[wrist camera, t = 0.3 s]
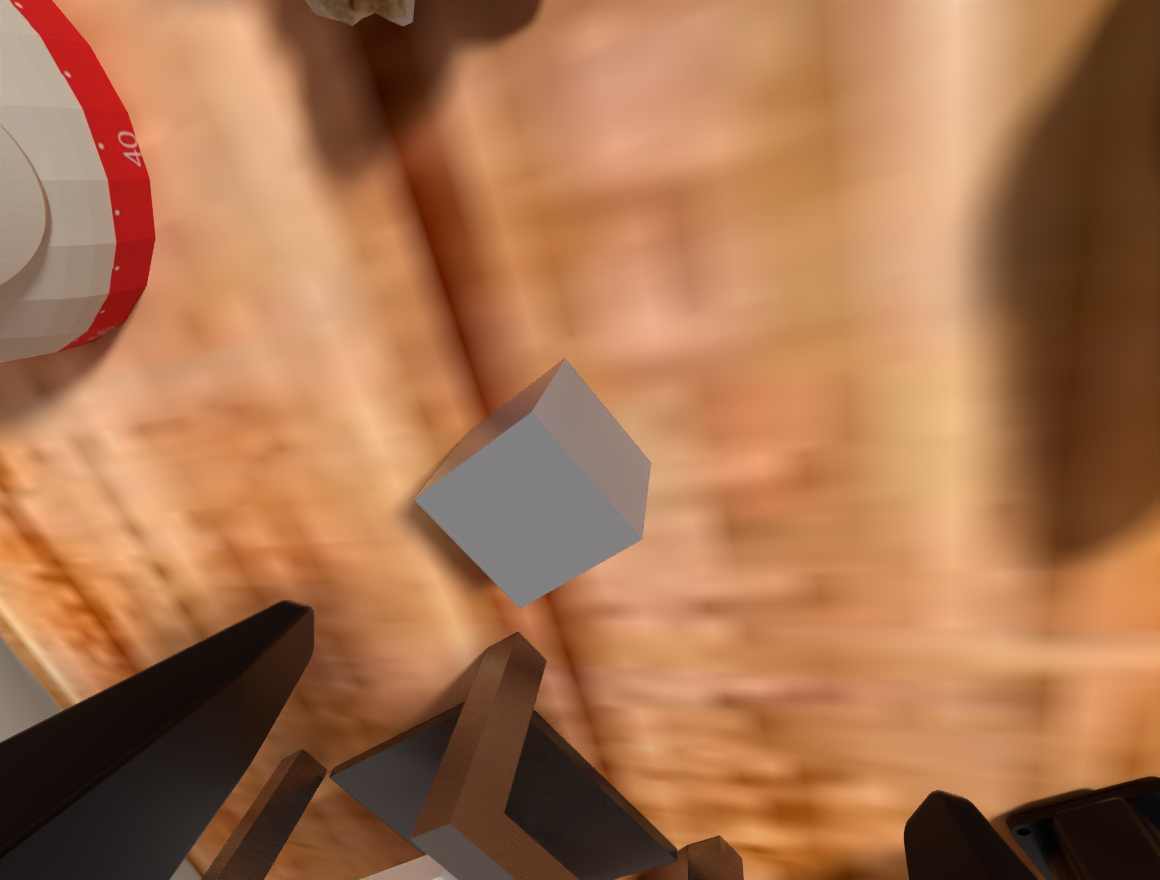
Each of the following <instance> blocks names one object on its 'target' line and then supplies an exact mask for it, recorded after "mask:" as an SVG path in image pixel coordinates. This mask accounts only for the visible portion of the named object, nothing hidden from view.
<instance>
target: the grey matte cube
mask: <svg viewBox="0 0 1160 880" xmlns="http://www.w3.org/2000/svg"><path fill="white" fill-rule="evenodd" d="M650 467H651V462H650V461H649V459H648V458H647V457H646V456H645V455H644V453H643V452H642V451H641V450H640V448H639V447H638V446H637V445H636V444H635V442H634V441H633V440H632V439H631V437H630V436H629V435H628V434H627V433H626V431H625V430H624V429H623V428H622V426H621V425H620V424H619V423H618V422H617V420H616V419H615V418H614V417H613V415H612V414H611V413H610V412H609V411H608V409H607V408H606V407H605V406H604V404H603V403H602V402H601V401H600V400H599V398H598V397H597V396H596V395H595V393H594V392H593V391H592V390H591V389H590V387H589V386H588V385H587V384H586V383H585V381H584V380H583V379H582V378H581V376H580V375H579V374H578V373H577V372H576V370H575V369H574V368H573V367H572V365H571V364H570V363H569V362H568V361H567V359H566V358H565V359H563V360H562V361H561V362H559V363H558V364H557V365H555V366H554V367H553V368H551V369H550V370H549V371H548V372H546V373H545V374H544V375H542V376H541V377H540V378H538V379H537V380H536V381H535V382H533V383H532V384H531V385H529V386H528V387H527V388H525V389H524V390H523V391H522V392H520V393H519V394H518V395H516V396H515V397H514V398H512V399H511V400H510V401H508V402H507V403H506V404H505V405H503V406H502V407H501V408H499V409H498V410H497V411H495V412H494V413H493V414H492V415H490V416H489V417H488V418H486V419H485V420H484V421H482V422H481V423H480V424H478V425H477V426H476V427H475V428H473V429H472V430H471V431H469V432H468V433H467V434H466V435H465V437H464V438H463V439H462V440H461V441H460V443H459V444H458V445H457V446H456V448H455V449H454V450H453V451H452V453H451V454H450V455H449V456H448V458H447V459H446V460H445V461H444V462H443V464H442V465H441V466H440V467H439V469H438V470H437V471H436V472H435V474H434V475H433V476H432V477H431V478H430V480H429V481H428V482H427V483H426V485H425V486H424V487H423V488H422V490H421V491H420V492H419V493H418V495H417V496H416V497H415V498H414V500H415V502H416V503H417V504H418V505H419V506H420V507H421V508H422V509H423V510H424V511H425V512H426V513H427V514H428V515H429V516H430V517H431V518H432V519H433V520H434V521H435V522H436V523H437V524H438V525H439V526H440V527H441V528H442V529H443V530H444V531H445V532H446V533H447V534H448V535H449V536H450V537H451V538H452V539H453V541H454V542H455V543H456V544H457V545H458V546H459V547H460V548H461V549H462V550H463V551H464V552H465V553H466V554H467V555H468V556H469V557H470V558H471V559H472V560H473V561H474V562H475V563H476V564H477V565H478V566H479V567H480V568H481V569H482V570H483V571H484V572H485V573H486V574H487V575H488V576H489V577H490V578H491V579H492V581H493V582H494V583H495V584H496V585H497V586H498V587H499V588H500V589H501V590H502V591H503V592H504V593H505V594H506V595H507V596H508V597H509V598H510V599H511V600H512V601H513V602H514V603H515V604H516V605H517V606H518V607H519V608H522V607H524V606H525V605H527V604H529V603H531V602H532V601H534V600H536V599H538V598H539V597H541V596H543V595H545V594H546V593H548V592H550V591H552V590H554V589H555V588H557V587H559V586H561V585H562V584H564V583H566V582H568V581H569V580H571V579H573V578H575V577H577V576H578V575H580V574H582V573H584V572H585V571H587V570H589V569H591V568H592V567H594V566H596V565H598V564H600V563H601V562H603V561H605V560H607V559H608V558H610V557H612V556H614V555H615V554H617V553H619V552H621V551H622V550H624V549H626V548H628V547H630V546H631V545H633V544H635V543H637V542H638V541H640V540H642V537H643V528H644V520H645V511H646V502H647V493H648V484H649V475H650Z"/></svg>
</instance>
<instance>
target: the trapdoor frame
mask: <svg viewBox="0 0 1160 880" xmlns="http://www.w3.org/2000/svg"><path fill="white" fill-rule="evenodd" d="M546 661H547V660H546V659H545V658H544V657H543V656H542V655H541V654H540V653H539V652H538V651H537V650H536V649H535V648H534V647H533V646H532V645H531V644H530V643H529V642H528V641H527V640H526V639H525V638H524V637H523V636H522V635H521V634H520V633H519V632H517V633H515V634H513V635H511V636H510V637H508V638H506V639H504V640H502V641H500V642H499V643H497V644H495V645H493V646H491V647H489V648H488V649H487V650H486V653H485V655H484V658H483V660H482V663H481V665H480V667H479V670H478V672H477V675H476V677H475V680H474V682H473V685H472V687H471V689H470V692H469V694H468V697H467V699H466V702H464V703H462V704H460V705H458V706H456V707H454V708H452V709H450V710H448V711H446V712H444V713H442V714H440V715H438V716H436V717H434V718H432V719H430V720H428V721H426V722H424V723H422V724H420V725H418V726H416V727H414V728H412V729H410V730H408V731H406V732H404V733H402V734H400V735H398V736H396V737H394V738H392V739H390V740H388V741H386V742H384V743H382V744H380V745H378V746H376V747H374V748H373V749H371V750H369V751H367V752H365V753H363V754H361V755H359V756H357V757H355V758H353V759H351V760H349V761H347V762H345V763H343V764H341V765H339V766H337V767H335V768H334V770H333V772H332V773H331V775H330V777H329V778H330V779H332V780H333V781H334V782H335V783H337V784H338V785H339V786H340V787H341V788H343V789H344V790H345V791H346V792H348V793H349V794H350V795H351V796H352V797H354V798H355V799H356V800H357V801H358V802H360V803H361V804H362V805H363V806H365V807H366V808H367V809H368V810H369V811H371V812H372V813H373V814H374V815H376V816H377V817H378V818H379V819H380V820H382V821H383V822H384V823H385V824H387V825H388V826H389V827H390V828H391V829H393V830H394V831H395V832H396V833H397V834H399V835H400V836H401V837H402V838H404V839H405V840H406V841H407V842H408V843H410V844H411V845H412V846H413V847H415V848H416V849H417V850H418V851H419V852H421V853H422V854H423V855H424V856H425V855H427V854H428V855H429V856H430V857H431V858H433V859H434V860H435V861H436V862H437V863H439V864H440V865H441V866H442V867H443V868H445V869H446V870H447V871H448V872H450V873H451V874H452V875H453V876H454V877H456V878H457V879H458V880H613V879H617V878H620V877H624V876H627V875H631V874H634V873H637V872H641V871H644V870H648V869H651V868H655V867H658V866H662V865H665V864H669V863H672V862H676V861H677V848H676V847H675V846H674V845H673V844H671V843H670V842H669V841H668V840H667V839H666V838H665V837H664V836H663V835H662V834H661V833H660V832H659V831H658V830H657V829H656V828H655V827H654V826H653V825H652V824H651V823H650V822H649V821H648V820H647V819H646V818H645V817H644V816H643V815H642V814H641V813H640V812H639V811H638V810H636V809H635V808H634V807H633V806H632V805H631V804H630V803H629V802H628V801H627V800H626V799H625V798H624V797H623V796H622V795H621V794H620V793H619V792H618V791H617V790H616V789H615V788H614V787H613V786H612V785H611V784H610V783H609V782H608V781H607V780H606V779H605V778H604V777H602V776H601V775H600V774H599V773H598V772H597V771H596V770H595V769H594V768H593V767H592V766H591V765H590V764H589V763H588V762H587V761H586V760H585V759H584V758H583V757H582V756H581V755H580V754H579V753H578V752H577V751H576V750H575V749H574V748H573V747H572V746H571V745H570V744H569V743H567V742H566V741H565V740H564V739H563V738H562V737H561V736H560V735H559V734H558V733H557V732H556V731H555V730H554V729H553V728H552V727H551V726H550V725H549V724H548V723H547V722H546V721H545V720H544V719H543V718H542V717H541V716H540V715H539V714H538V713H537V712H536V711H535V710H534V709H533V708H534V704H535V700H536V697H537V693H538V690H539V686H540V682H541V679H542V675H543V672H544V668H545V665H546ZM326 773H327V770H326V769H324V768H323V767H322V766H321V765H320V764H318V763H317V762H316V761H315V760H314V759H312V758H311V757H310V756H309V755H307V754H306V753H305V752H304V751H303V750H300V751H299V752H297V753H295V754H293V755H291V756H289V757H288V758H286V759H284V760H282V761H281V763H280V764H279V766H278V767H277V769H276V770H275V772H274V773H273V774H272V776H271V777H270V779H269V780H268V782H267V783H266V785H265V786H264V788H263V789H262V791H261V792H260V794H259V795H258V797H257V798H256V800H255V801H254V803H253V804H252V806H251V807H250V808H249V810H248V811H247V813H246V814H245V816H244V817H243V819H242V820H241V822H240V823H239V825H238V826H237V828H236V829H235V831H234V832H233V834H232V835H231V837H230V838H229V840H228V841H227V842H226V844H225V845H224V847H223V848H222V850H221V851H220V853H219V854H218V856H217V857H216V859H215V860H214V862H213V863H212V865H211V866H210V868H209V869H208V871H207V872H206V874H205V875H204V876H203V878H202V879H201V880H264V878H265V877H266V875H267V873H268V872H269V870H270V868H271V866H272V865H273V863H274V861H275V860H276V858H277V856H278V855H279V853H280V851H281V849H282V848H283V846H284V844H285V843H286V841H287V839H288V838H289V836H290V834H291V833H292V831H293V829H294V827H295V826H296V824H297V822H298V821H299V819H300V817H301V816H302V814H303V812H304V810H305V809H306V807H307V805H308V804H309V802H310V800H311V799H312V797H313V795H314V793H315V792H316V790H317V788H318V787H319V785H320V783H321V782H322V780H323V778H324V777H325V775H326ZM688 880H744V877H743V864H742V858H741V857H740V856H739V855H738V854H737V853H736V852H735V851H734V850H733V849H732V847H731V846H730V845H729V844H728V843H727V842H726V841H725V840H724V839H723V838H722V837H721V836H719V837H716V838H712V839H709V840H706V841H702V842H699V843H696V844H692V845H689V846H688Z"/></svg>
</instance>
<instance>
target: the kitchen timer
mask: <svg viewBox="0 0 1160 880" xmlns="http://www.w3.org/2000/svg"><path fill="white" fill-rule="evenodd" d="M154 243H155V229H154V219H153V208H152V198H151V188H150V179H149V176H148V173H147V170H146V167H145V164H144V161H143V158H142V155H141V152H140V149H139V146H138V143H137V140H136V137H135V134H134V131H133V128H132V124H131V121H130V118H129V115H128V113H127V111H126V109H125V107H124V106H123V104H122V102H121V100H120V98H119V97H118V95H117V93H116V91H115V90H114V88H113V86H112V84H111V82H110V81H109V79H108V77H107V75H106V73H105V72H104V70H103V68H102V66H101V65H100V63H99V61H98V59H97V57H96V56H95V54H94V52H93V50H92V48H91V47H90V45H89V44H88V43H87V42H86V40H85V39H84V38H83V37H82V36H81V34H80V33H79V32H78V31H77V30H76V28H75V27H74V26H73V25H72V24H71V22H70V21H69V20H68V19H67V18H66V16H65V15H64V14H63V13H62V12H61V10H60V9H59V8H58V7H57V6H56V4H55V3H54V2H53V1H52V0H0V363H1V362H7V361H13V360H18V359H24V358H29V357H35V356H40V355H45V354H51V353H56V352H60V351H63V350H66V349H70V348H73V347H76V346H80V345H83V344H86V343H90V342H93V341H96V340H97V339H99V338H100V337H102V336H103V335H105V334H106V333H108V332H109V331H110V330H112V329H113V328H115V327H116V326H118V325H119V324H121V323H122V322H124V321H125V320H126V319H127V317H128V316H129V314H130V312H131V311H132V309H133V307H134V306H135V304H136V302H137V301H138V299H139V297H140V296H141V294H142V292H143V291H144V289H145V287H146V286H147V281H148V276H149V270H150V265H151V259H152V254H153V248H154Z"/></svg>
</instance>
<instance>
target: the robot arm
mask: <svg viewBox="0 0 1160 880" xmlns="http://www.w3.org/2000/svg"><path fill="white" fill-rule="evenodd" d="M313 649H314V611H313V609H312V607H310V606H309V605H305V604H302V603H298V602H295V601H291V600H284V601H280V602H278V603H276V604H274V605H272V606H270V607H268V608H266V609H264V610H262V611H260V612H258V613H256V614H254V615H252V616H250V617H248V618H246V619H244V620H242V621H240V622H238V623H236V624H234V625H232V626H230V627H228V628H226V629H224V630H222V631H220V632H218V633H216V634H214V635H212V636H210V637H208V638H206V639H204V640H202V641H200V642H198V643H197V644H195V645H193V646H191V647H189V648H187V649H185V650H183V651H181V652H179V653H177V654H175V655H173V656H171V657H169V658H167V659H165V660H163V661H161V662H159V663H157V664H155V665H153V666H151V667H149V668H147V669H145V670H143V671H141V672H139V673H137V674H135V675H133V676H131V677H129V678H127V679H125V680H123V681H121V682H119V683H117V684H115V685H113V686H111V687H109V688H107V689H105V690H103V691H101V692H99V693H97V694H95V695H93V696H91V697H89V698H87V699H86V700H84V701H82V702H80V703H78V704H76V705H74V706H72V707H70V708H68V709H66V710H64V711H62V712H60V713H58V714H56V715H54V716H52V717H50V718H48V719H46V720H44V721H42V722H40V723H38V724H36V725H34V726H32V727H30V728H28V729H26V730H24V731H22V732H20V733H18V734H16V735H14V736H12V737H10V738H8V739H6V740H4V741H2V742H0V880H170V879H171V877H172V876H173V874H174V873H175V872H176V870H177V869H178V867H179V866H180V864H181V863H182V862H183V860H184V859H185V857H186V856H187V854H188V853H189V852H190V850H191V849H192V847H193V846H194V845H195V843H196V842H197V840H198V839H199V837H200V836H201V835H202V833H203V832H204V830H205V829H206V827H207V826H208V825H209V823H210V822H211V820H212V819H213V817H214V816H215V815H216V813H217V812H218V810H219V809H220V808H221V806H222V805H223V803H224V802H225V800H226V799H227V798H228V796H229V795H230V793H231V792H232V790H233V789H234V788H235V786H236V785H237V783H238V782H239V780H240V779H241V777H242V776H243V774H244V773H245V771H246V770H247V768H248V767H249V765H250V764H251V762H252V761H253V759H254V757H255V756H256V754H257V752H258V751H259V749H260V747H261V745H262V744H263V742H264V740H265V738H266V737H267V735H268V733H269V731H270V730H271V728H272V726H273V724H274V723H275V721H276V719H277V717H278V716H279V714H280V712H281V710H282V708H283V707H284V705H285V703H286V701H287V700H288V698H289V696H290V694H291V693H292V691H293V689H294V687H295V686H296V684H297V682H298V680H299V679H300V677H301V675H302V673H303V672H304V670H305V668H306V666H307V664H308V663H309V661H310V658H311V656H312V653H313ZM1006 824H1007V826H1008V828H1009V830H1010V832H1011V834H1012V836H1013V837H1014V838H1015V840H1016V841H1017V842H1018V844H1019V845H1020V846H1021V847H1022V849H1023V850H1024V851H1025V853H1026V854H1027V855H1028V856H1029V858H1030V859H1031V860H1032V862H1033V863H1034V864H1035V865H1036V867H1037V868H1038V869H1039V871H1040V872H1041V873H1042V874H1043V876H1044V877H1045V878H1046V880H1160V779H1159V780H1154V781H1150V782H1146V783H1142V784H1138V785H1134V786H1130V787H1127V788H1123V789H1119V790H1115V791H1111V792H1107V793H1103V794H1099V795H1095V796H1091V797H1087V798H1083V799H1080V800H1076V801H1072V802H1068V803H1064V804H1060V805H1056V806H1052V807H1048V808H1044V809H1040V810H1036V811H1033V812H1029V813H1025V814H1021V815H1017V816H1013V817H1011V818H1009V819H1008V820H1007V822H1006ZM904 846H905V853H906V860H907V867H908V875H909V880H1039V879H1038V878H1037V877H1036V876H1035V874H1034V873H1033V872H1032V871H1031V870H1030V869H1029V868H1028V866H1027V865H1026V864H1025V863H1024V862H1023V861H1022V859H1021V858H1020V857H1019V856H1018V855H1017V854H1016V853H1015V851H1014V850H1013V849H1012V848H1011V847H1010V846H1009V844H1008V843H1007V842H1006V841H1005V840H1004V839H1003V838H1002V836H1001V835H1000V834H999V833H998V832H997V831H996V829H995V828H994V827H993V826H992V825H991V824H990V823H989V821H988V820H987V819H986V818H985V817H984V816H983V815H982V813H981V812H980V811H979V810H978V809H977V808H976V807H975V805H974V804H973V803H971V802H970V801H969V800H967V799H966V798H964V797H961V796H958V795H954V794H951V793H948V792H944V791H940V790H936V791H933V792H931V793H930V794H929V795H928V796H927V798H926V799H925V800H924V801H923V802H922V804H921V805H920V806H919V807H918V808H917V810H916V811H915V812H914V813H913V814H912V816H911V817H910V818H909V819H908V821H907V823H906V825H905V830H904Z"/></svg>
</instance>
